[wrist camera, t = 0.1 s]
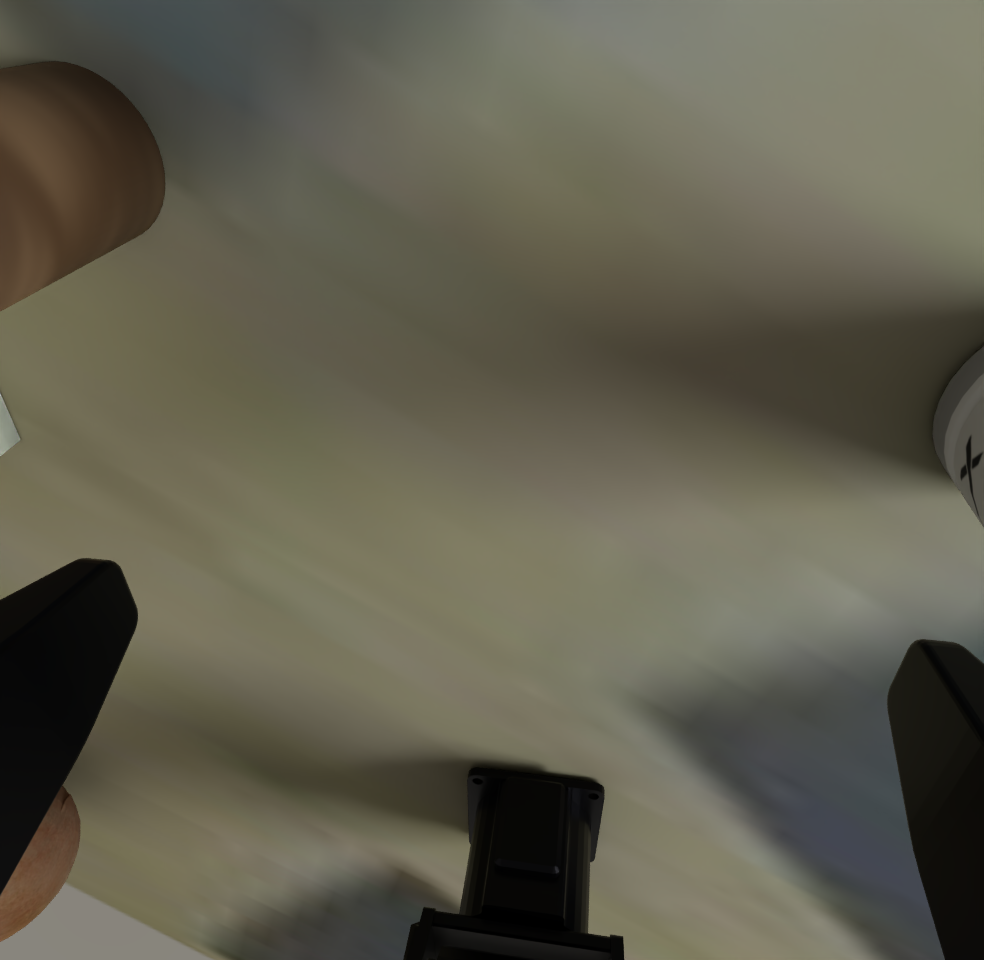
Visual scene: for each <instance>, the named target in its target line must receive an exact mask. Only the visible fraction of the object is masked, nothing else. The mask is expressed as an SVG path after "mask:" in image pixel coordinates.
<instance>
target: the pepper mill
mask: <svg viewBox="0 0 984 960" xmlns="http://www.w3.org/2000/svg"><path fill="white" fill-rule="evenodd" d="M164 195H165V173H164V167H163V162H162V158H161V155H160V151H159V148H158V146H157V143H156V141H155V138H154V136H153V134H152V132H151V130H150V129H149V127H148V125H147V123H146V122H145V120H144V119H143V117H142V116H141V114H140V113H139V111H138V110H137V109H136V108H135V106H134V105H133V104H132V103H131V102H130V101H129V100H128V98H127V97H126V96H125V95H124V94H123V93H122V92H121V91H119V90H118V89H117V88H116V87H115V86H113V85H112V84H111V83H110V82H108V81H107V80H105V79H104V78H102V77H101V76H99V75H97V74H96V73H94V72H92V71H90V70H88V69H85V68H83V67H80V66H78V65H74V64H70V63H66V62H56V61H53V62H42V63H35V64H28V65H22V66H15V67H9V68H2V69H0V311H2V310H4V309H6V308H8V307H9V306H11V305H13V304H15V303H17V302H18V301H20V300H22V299H24V298H26V297H28V296H29V295H31V294H33V293H35V292H37V291H39V290H40V289H42V288H44V287H46V286H48V285H50V284H51V283H53V282H55V281H57V280H59V279H61V278H62V277H64V276H66V275H68V274H70V273H72V272H73V271H75V270H77V269H79V268H81V267H83V266H84V265H86V264H88V263H90V262H92V261H94V260H95V259H97V258H99V257H101V256H103V255H104V254H106V253H108V252H110V251H112V250H114V249H115V248H117V247H119V246H121V245H123V244H125V243H126V242H128V241H130V240H132V239H134V238H136V237H137V236H139V235H141V234H143V233H144V232H145V231H146V230H147V229H149V228H150V226H151V225H152V224H153V223H154V222H155V220H156V218H157V216H158V215H159V213H160V210H161V207H162V204H163V200H164Z"/></svg>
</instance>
